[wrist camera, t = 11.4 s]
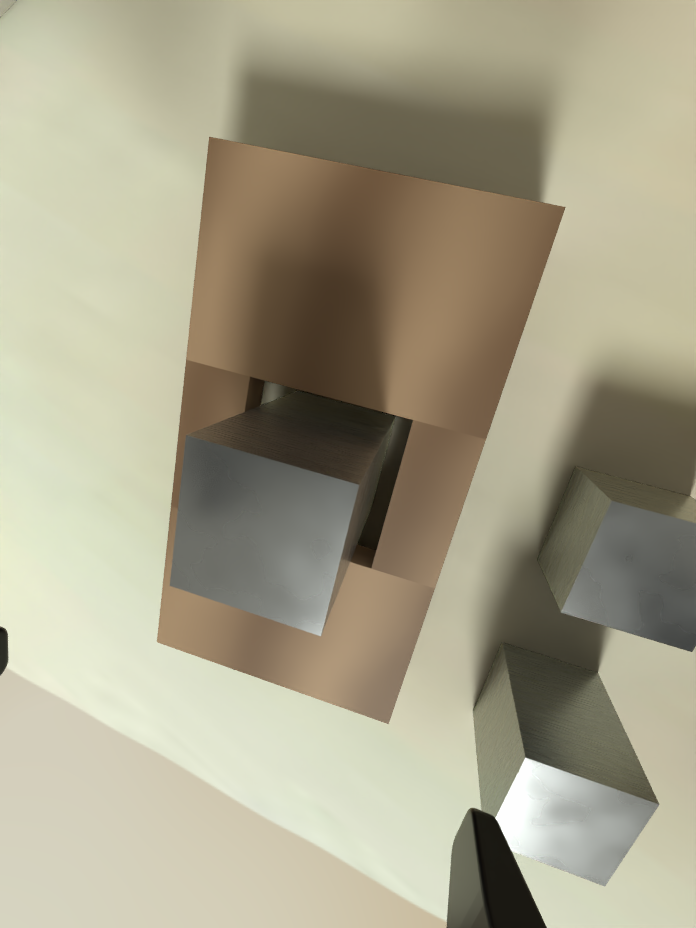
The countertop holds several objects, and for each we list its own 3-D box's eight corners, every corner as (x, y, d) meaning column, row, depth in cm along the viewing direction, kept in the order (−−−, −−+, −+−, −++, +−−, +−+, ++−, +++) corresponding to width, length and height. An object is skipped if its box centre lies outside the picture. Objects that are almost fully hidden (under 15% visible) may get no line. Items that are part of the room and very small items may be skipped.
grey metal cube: (688, 495, 17) (758, 539, 14) (641, 587, 19) (692, 652, 15) (575, 465, 18) (611, 500, 14) (536, 558, 19) (560, 612, 15)
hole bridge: (539, 233, 16) (565, 207, 12) (395, 665, 22) (388, 723, 19) (253, 175, 17) (209, 136, 14) (196, 598, 23) (156, 641, 20)
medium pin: (597, 672, 20) (659, 804, 14) (561, 741, 21) (604, 886, 16) (502, 641, 21) (525, 757, 15) (472, 711, 22) (484, 840, 16)
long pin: (395, 416, 19) (359, 484, 10) (371, 508, 20) (321, 636, 12) (298, 390, 19) (185, 434, 11) (281, 482, 21) (169, 585, 12)
